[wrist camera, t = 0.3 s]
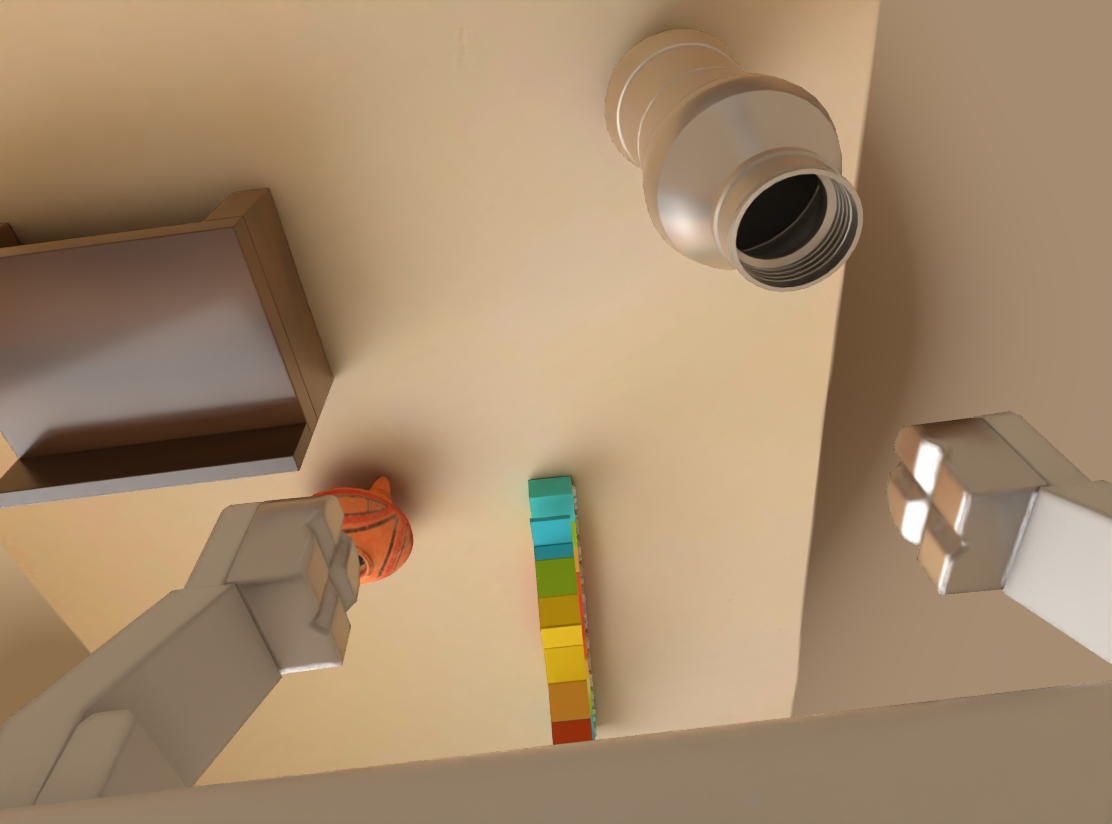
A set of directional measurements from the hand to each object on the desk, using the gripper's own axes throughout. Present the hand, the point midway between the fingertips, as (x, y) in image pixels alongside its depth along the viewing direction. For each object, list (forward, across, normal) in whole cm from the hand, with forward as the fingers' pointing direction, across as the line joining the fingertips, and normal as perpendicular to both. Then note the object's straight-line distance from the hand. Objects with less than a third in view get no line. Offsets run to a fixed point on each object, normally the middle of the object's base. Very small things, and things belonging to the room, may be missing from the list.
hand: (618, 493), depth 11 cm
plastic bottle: (+31, -6, +1) cm, 32 cm away
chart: (+31, +2, +40) cm, 50 cm away
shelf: (+31, +23, +9) cm, 39 cm away
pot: (+31, +15, +25) cm, 43 cm away
